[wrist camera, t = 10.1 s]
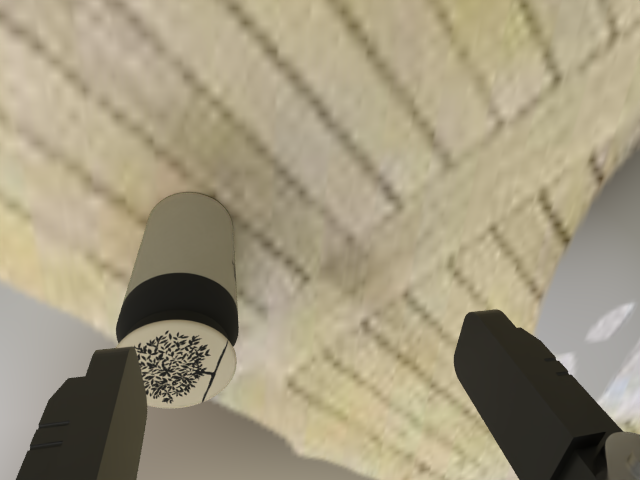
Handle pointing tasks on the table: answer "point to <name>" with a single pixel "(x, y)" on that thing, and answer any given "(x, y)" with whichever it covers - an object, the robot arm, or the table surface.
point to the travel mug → (183, 302)
